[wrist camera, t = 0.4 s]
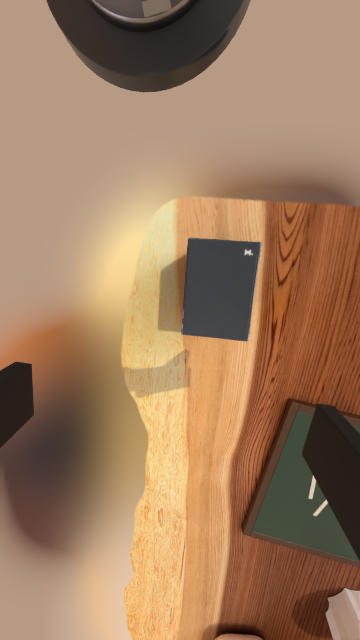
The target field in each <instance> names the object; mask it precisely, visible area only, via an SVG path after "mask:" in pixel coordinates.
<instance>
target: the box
mask: <svg viewBox="0 0 360 640" xmlns="http://www.w3.org/2000/svg"><path fill="white" fill-rule="evenodd" d="M260 251H261V242H248V241H231V240H218V239H199V238H189V239H188V247H187V263H186V276H185V289H184V303H183V319H182V331H181V334H182V335H192V336H201V337H212V338H221V339H230V340H238V341H248V340H249V334H250V323H251V315H252V306H253V297H254V291H255V283H256V275H257V269H258V262H259V257H260Z"/></svg>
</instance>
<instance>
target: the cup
mask: <svg viewBox="0 0 360 640" xmlns="http://www.w3.org/2000/svg"><path fill="white" fill-rule="evenodd" d="M327 599H328V602H329V608H328V611H327V612H326V613H325V614H326V617H327V620H328V624H329V627H330V630H331V634H332V637H333V640H360V591H355V590H349V589H347V588H344V589H343V591H342V592H340V593H339V594H337V595H335V596H333V597H328V598H327Z"/></svg>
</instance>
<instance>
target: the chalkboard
mask: <svg viewBox="0 0 360 640" xmlns="http://www.w3.org/2000/svg"><path fill="white" fill-rule="evenodd" d="M315 408H316V405H314V404H310V403H306V402H302V401H298V400H294V399H289V401H288V404H287V407H286V410H285V412H284V415H283V418H282V420H281V423H280V426H279V429H278V431H277V434H276V437H275V439H274V442H273V445H272V448H271V450H270V453H269V456H268V458H267V461H266V464H265V467H264V469H263V472H262V475H261V478H260V480H259V483H258V486H257V488H256V491H255V494H254V497H253V499H252V502H251V505H250V507H249V510H248V513H247V516H246V518H245V521H244V524H243V526H242V531H243V535H247V536H250V537H254V538H257V539H261V540H264V541H268V542H271V543H275V544H279V545H282V546H286V547H289V548H293V549H296V550H300V551H303V552H307V553H310V554H314V555H317V556H321V557H325V558H328V559H332V560H335V561H339V562H342V563H346V564H349V565H353V566H356V567H360V561H359V559H358V558H357V556H356V554H355V552H354V550H353V548H352V546H351V545H350V543H349V541H348V539H347V537H346V535H345V533H344V532H343V530H342V528H341V526H340V524H339V522H338V520H337V519H336V517H335V515H334V513H333V511H332V509H331V508H330V506H329V504H328V502H327V500H326V498H325V496H324V495H323V493H322V491H321V489H320V487H319V485H318V483H317V482H316V480H315V478H314V476H313V474H312V472H311V470H310V469H309V467H308V465H307V463H306V461H305V459H304V457H303V456H302V450H303V447H304V444H305V441H306V438H307V434H308V431H309V428H310V425H311V421H312V418H313V415H314V412H315ZM339 412H340V413H341V414H342V415H343V416H344V417H345V418H346V419H347V420H348V422H349V423H350V424H351V425H352V426H353V427H354V428H355V429H356V430H357V431H358V432H359V433H360V416H357V415H353V414H349V413H346V412H342V411H339Z"/></svg>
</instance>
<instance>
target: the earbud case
mask: <svg viewBox="0 0 360 640" xmlns="http://www.w3.org/2000/svg"><path fill="white" fill-rule="evenodd" d="M215 640H263V639H262V638H260V637H258V636H255V635H247V634H230V633H226V634H221V635H219V636H218V637H217V638H216V639H215Z"/></svg>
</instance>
